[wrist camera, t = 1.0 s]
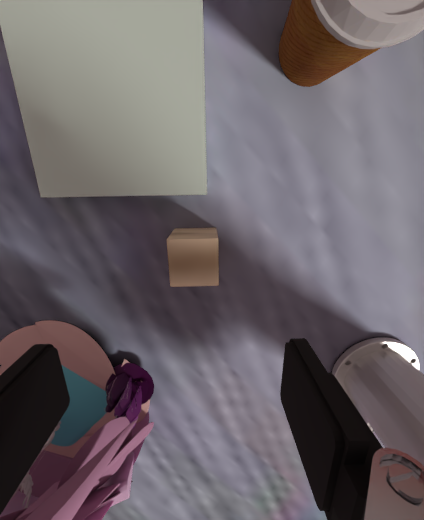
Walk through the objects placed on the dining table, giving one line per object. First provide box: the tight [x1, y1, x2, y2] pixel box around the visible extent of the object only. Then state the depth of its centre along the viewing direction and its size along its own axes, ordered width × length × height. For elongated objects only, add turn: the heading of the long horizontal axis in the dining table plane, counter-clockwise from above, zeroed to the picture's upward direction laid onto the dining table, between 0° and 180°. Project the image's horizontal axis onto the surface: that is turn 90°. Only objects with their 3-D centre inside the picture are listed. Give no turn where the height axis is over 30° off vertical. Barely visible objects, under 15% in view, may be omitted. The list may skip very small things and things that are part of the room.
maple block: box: [167, 228, 219, 287], centre depth 26 cm, size 5×5×6 cm
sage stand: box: [0, 0, 207, 197], centre depth 23 cm, size 17×17×3 cm
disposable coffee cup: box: [279, 0, 424, 87], centre depth 17 cm, size 10×10×12 cm
